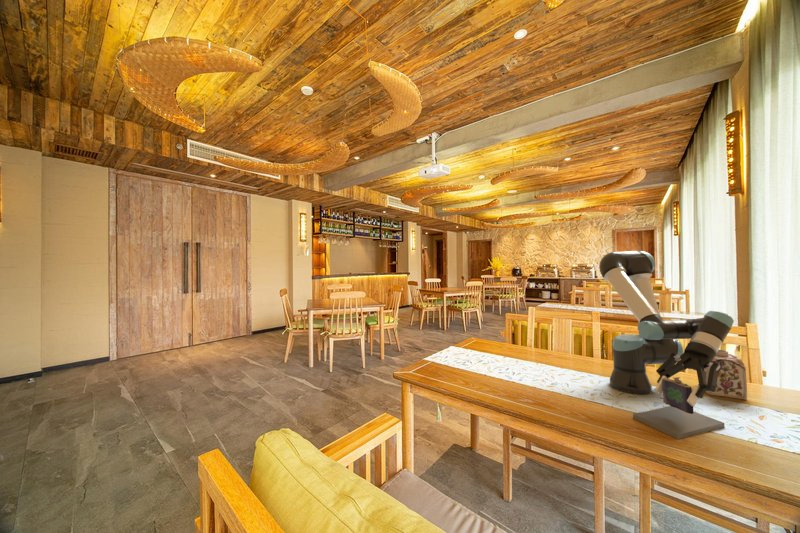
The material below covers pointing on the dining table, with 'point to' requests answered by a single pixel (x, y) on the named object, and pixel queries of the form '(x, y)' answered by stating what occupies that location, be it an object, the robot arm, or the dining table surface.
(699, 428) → the slate board
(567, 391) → the dining table surface
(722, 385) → the decorative jar
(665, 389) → the flask
